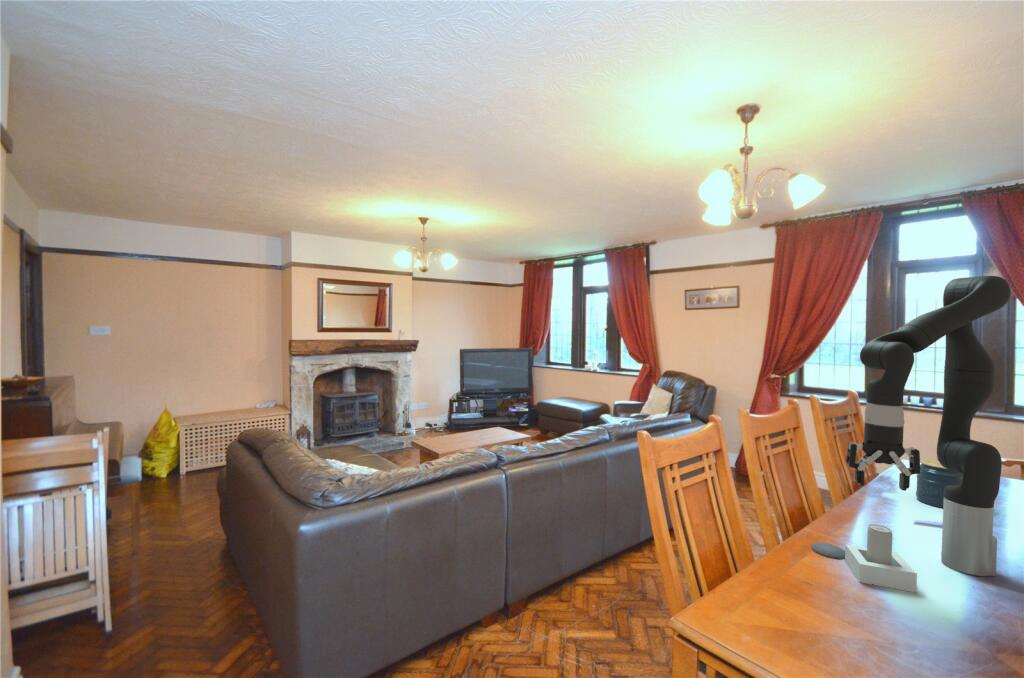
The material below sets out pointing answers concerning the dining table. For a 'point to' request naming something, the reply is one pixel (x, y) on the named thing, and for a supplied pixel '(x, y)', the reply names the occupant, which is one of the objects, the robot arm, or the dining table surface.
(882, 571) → the pocket block
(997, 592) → the dining table surface
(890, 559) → the beverage can
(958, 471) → the robot arm
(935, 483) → the canister
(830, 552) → the coaster
